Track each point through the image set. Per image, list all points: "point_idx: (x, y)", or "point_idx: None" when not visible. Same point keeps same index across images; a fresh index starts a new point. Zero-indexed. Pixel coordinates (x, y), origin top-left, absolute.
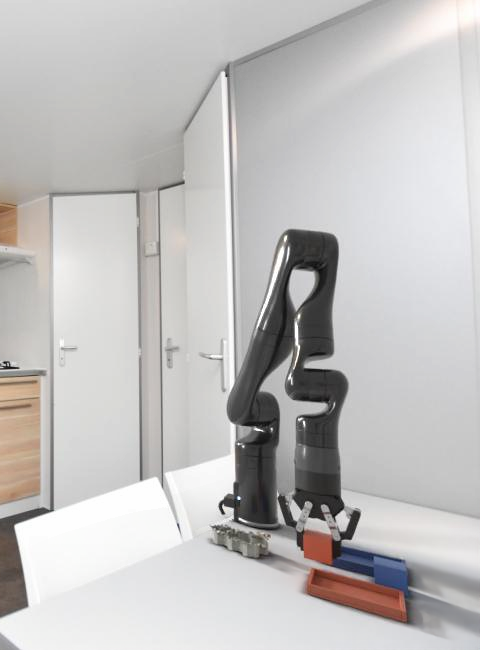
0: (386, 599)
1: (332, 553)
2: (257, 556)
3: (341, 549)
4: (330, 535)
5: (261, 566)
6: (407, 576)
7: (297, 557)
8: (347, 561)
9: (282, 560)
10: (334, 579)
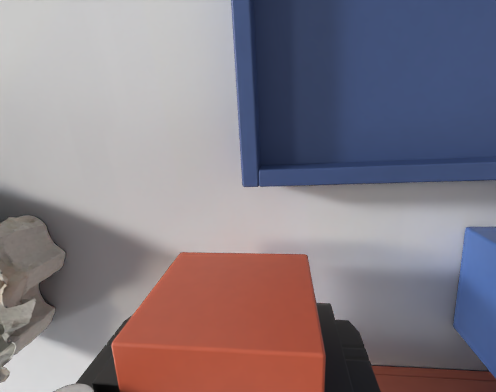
0: None
1: None
2: (50, 321)
3: (365, 356)
4: (303, 385)
5: None
6: None
7: (154, 185)
8: (367, 183)
9: (122, 272)
10: None
